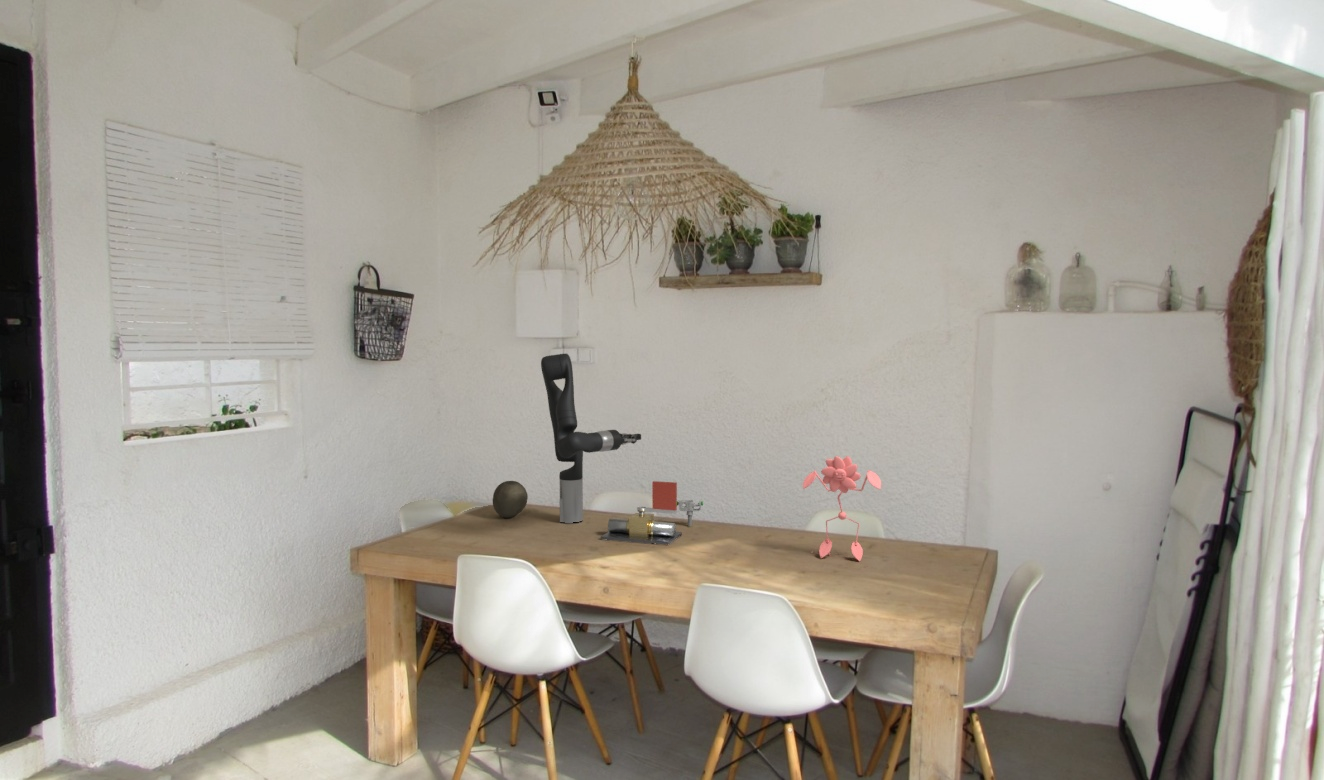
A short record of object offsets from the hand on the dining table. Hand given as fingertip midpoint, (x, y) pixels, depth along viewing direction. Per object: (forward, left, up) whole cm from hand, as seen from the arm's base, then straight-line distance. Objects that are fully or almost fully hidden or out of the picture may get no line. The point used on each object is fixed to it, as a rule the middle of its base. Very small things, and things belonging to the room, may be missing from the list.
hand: (639, 436), depth 316 cm
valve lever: (+5, -14, -26) cm, 30 cm away
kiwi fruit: (-51, +28, -36) cm, 69 cm away
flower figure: (+62, -52, -36) cm, 88 cm away
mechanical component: (+20, +4, -36) cm, 41 cm away
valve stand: (0, -12, -36) cm, 38 cm away
